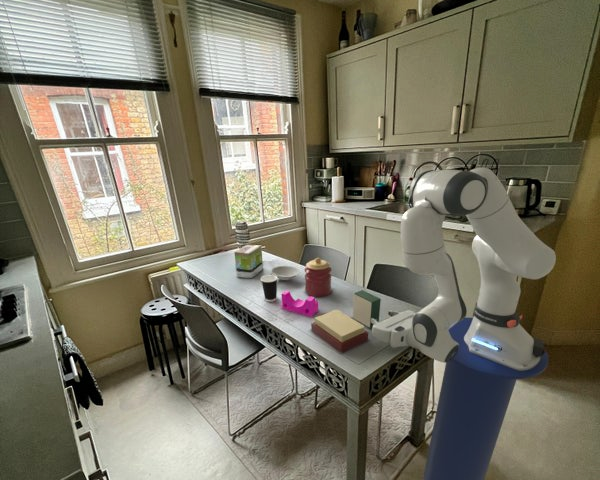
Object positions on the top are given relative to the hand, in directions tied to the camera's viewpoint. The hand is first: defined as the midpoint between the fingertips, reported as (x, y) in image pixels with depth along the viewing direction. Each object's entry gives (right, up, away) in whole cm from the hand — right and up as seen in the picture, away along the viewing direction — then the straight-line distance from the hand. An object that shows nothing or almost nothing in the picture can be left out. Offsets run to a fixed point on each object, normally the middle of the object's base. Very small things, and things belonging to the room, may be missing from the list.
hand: (381, 315), depth 120 cm
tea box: (-59, +19, +62) cm, 88 cm away
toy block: (-31, +1, +20) cm, 37 cm away
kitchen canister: (-22, +9, +37) cm, 43 cm away
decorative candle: (-66, +28, +83) cm, 109 cm away
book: (-4, -3, +9) cm, 10 cm away
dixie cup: (-45, +5, +31) cm, 54 cm away
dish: (-39, +15, +52) cm, 66 cm away
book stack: (-16, -7, +1) cm, 18 cm away
